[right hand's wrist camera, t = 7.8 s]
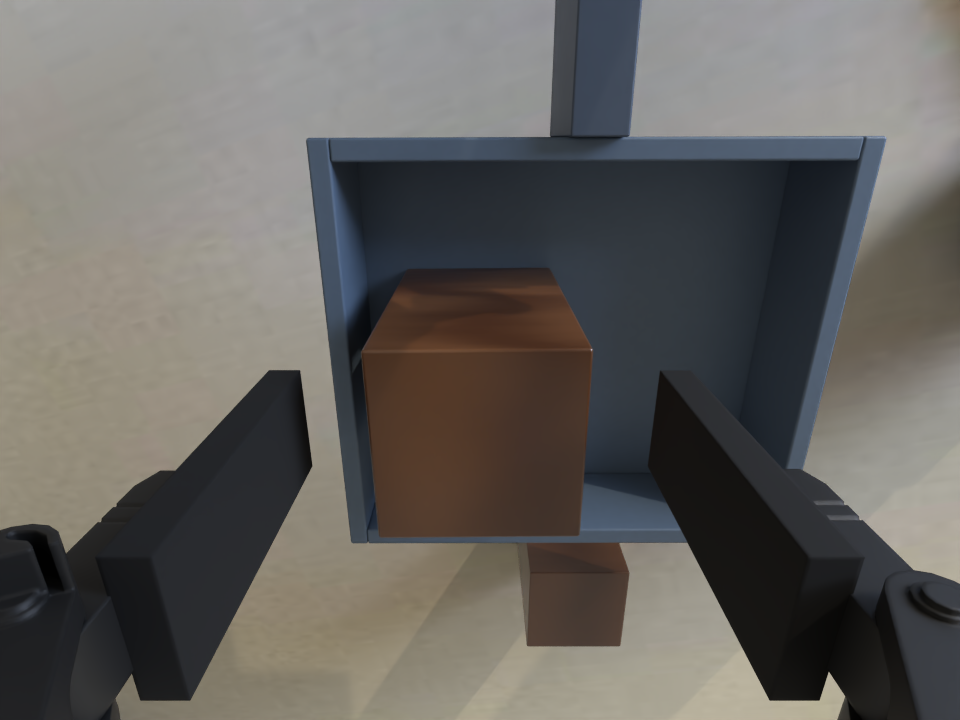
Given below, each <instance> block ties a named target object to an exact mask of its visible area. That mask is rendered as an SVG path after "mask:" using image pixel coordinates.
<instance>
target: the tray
mask: <svg viewBox="0 0 960 720" xmlns="http://www.w3.org/2000/svg"><path fill="white" fill-rule="evenodd" d="M641 6H642V0H556V5H555V29H554V53H553V78H552V102H551V126H550V136H551V137H456V138H308V139H307V140H306V144H307V153H308V161H309V170H310V179H311V188H312V197H313V206H314V215H315V224H316V233H317V242H318V250H319V259H320V268H321V277H322V286H323V295H324V304H325V313H326V322H327V331H328V339H329V348H330V357H331V366H332V375H333V384H334V393H335V402H336V411H337V420H338V428H339V437H340V446H341V455H342V464H343V473H344V482H345V491H346V500H347V509H348V517H349V526H350V535H351V542H352V543H367V542H369V543H687V541H686V539H685V537H684V535H683V533H682V531H681V529H680V527H679V525H678V523H677V522H676V520H675V518H674V516H673V514H672V512H671V510H670V508H669V506H668V504H667V502H666V500H665V498H664V497H663V495H662V493H661V491H660V489H659V487H658V485H657V483H656V481H655V479H654V477H653V475H652V474H651V472H650V470H649V468H648V459H649V451H650V444H651V436H652V428H653V420H654V413H655V405H656V397H657V389H658V382H659V374H660V370H691V371H692V372H693V373H694V374H695V375H696V376H697V377H698V379H699V380H700V381H701V382H702V383H703V384H704V385H705V386H706V387H707V388H708V389H709V390H710V391H711V392H712V394H713V395H714V396H715V397H716V398H717V399H718V400H719V401H720V402H721V403H722V404H723V405H724V406H725V408H726V409H727V410H728V411H729V412H730V413H731V414H732V415H733V416H734V417H735V418H736V419H737V420H738V421H739V423H740V424H741V425H742V426H743V427H744V428H745V429H746V430H747V431H748V432H749V433H750V434H751V435H752V436H753V438H754V439H755V440H756V441H757V442H758V443H759V444H760V445H761V446H762V447H763V448H764V449H765V450H766V451H767V453H768V454H769V455H770V456H771V457H772V458H773V459H774V460H775V461H776V462H777V463H778V464H779V465H780V466H781V468H782V469H801V470H803V466H804V463H805V459H806V455H807V451H808V447H809V443H810V439H811V435H812V431H813V427H814V423H815V419H816V415H817V411H818V407H819V403H820V399H821V395H822V391H823V387H824V384H825V380H826V376H827V372H828V368H829V364H830V360H831V356H832V352H833V348H834V344H835V340H836V336H837V332H838V328H839V324H840V320H841V316H842V312H843V309H844V305H845V301H846V297H847V293H848V289H849V285H850V281H851V277H852V273H853V269H854V265H855V261H856V257H857V253H858V249H859V245H860V241H861V237H862V234H863V230H864V226H865V222H866V218H867V214H868V210H869V206H870V202H871V198H872V194H873V190H874V186H875V182H876V178H877V174H878V170H879V166H880V162H881V159H882V155H883V151H884V147H885V143H886V137H884V136H769V137H628V136H629V135H630V126H631V115H632V104H633V93H634V82H635V71H636V61H637V50H638V39H639V28H640V17H641ZM449 268H550V270H551V272H552V273H553V275H554V277H555V279H556V281H557V283H558V285H559V287H560V289H561V290H562V292H563V294H564V296H565V298H566V300H567V302H568V304H569V305H570V307H571V309H572V311H573V313H574V315H575V317H576V319H577V321H578V322H579V324H580V326H581V328H582V330H583V332H584V334H585V336H586V337H587V339H588V341H589V343H590V345H591V347H592V349H593V360H592V374H591V388H590V402H589V416H588V429H587V443H586V457H585V471H584V485H583V499H582V513H581V526H580V535H579V536H567V537H425V538H381V537H379V534H378V523H377V513H376V503H375V492H374V482H373V472H372V461H371V451H370V441H369V430H368V420H367V410H366V399H365V389H364V379H363V368H362V358H361V351H362V349H363V347H364V346H365V344H366V342H367V340H368V338H369V337H370V335H371V333H372V331H373V329H374V328H375V326H376V324H377V322H378V320H379V319H380V317H381V315H382V313H383V312H384V310H385V308H386V306H387V304H388V303H389V301H390V299H391V297H392V295H393V294H394V292H395V290H396V288H397V286H398V285H399V283H400V281H401V279H402V278H403V276H404V274H405V272H406V270H407V269H449Z"/></svg>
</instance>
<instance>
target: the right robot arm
mask: <svg viewBox="0 0 960 720" xmlns="http://www.w3.org/2000/svg"><path fill="white" fill-rule="evenodd" d="M311 468H312V459H311V452H310V444H309V436H308V428H307V420H306V413H305V405H304V397H303V389H302V382H301V374H300V370H269V371H268V372H267V373H266V374H265V375H264V376H263V377H262V379H261V380H260V381H259V382H258V383H257V384H256V385H255V386H254V387H253V388H252V389H251V390H250V391H249V392H248V394H247V395H246V396H245V397H244V398H243V399H242V400H241V401H240V402H239V403H238V404H237V405H236V406H235V407H234V409H233V410H232V411H231V412H230V413H229V414H228V415H227V416H226V417H225V418H224V419H223V420H222V421H221V422H220V424H219V425H218V426H217V427H216V428H215V429H214V430H213V431H212V432H211V433H210V434H209V435H208V436H207V438H206V439H205V440H204V441H203V442H202V443H201V444H200V445H199V446H198V447H197V448H196V449H195V450H194V451H193V453H192V454H191V455H190V456H189V457H188V458H187V459H186V460H185V461H184V462H183V463H182V464H181V465H180V466H179V468H178V469H177V470H176V471H159V472H157V473H156V474H154V475H152V476H151V477H149V478H147V479H145V480H144V481H142V482H140V483H139V484H137V485H135V486H134V487H133V488H132V489H131V490H130V491H129V492H128V493H127V494H126V495H125V496H124V497H123V498H122V499H121V500H120V501H119V502H118V503H117V506H116V507H113V508H112V509H111V510H110V511H109V512H108V513H107V514H106V515H105V516H104V517H103V518H102V521H101V522H98V523H97V524H96V525H95V526H94V527H93V528H92V529H91V530H90V531H89V532H88V533H86V534H85V535H84V536H83V537H82V538H81V539H80V540H79V541H78V542H77V543H76V544H75V545H74V546H73V547H72V548H71V549H70V550H69V551H68V552H67V553H65V550H64V547H63V544H62V541H61V538H60V535H59V532H58V531H57V530H55V529H54V528H52V527H50V526H49V525H38V524H29V525H22V526H15V527H10V528H6V529H3V530H0V720H120V714H119V708H118V705H117V702H116V699H115V698H116V696H117V695H118V693H119V692H120V690H121V689H122V687H123V686H124V684H125V683H126V681H127V680H128V678H129V677H130V675H131V674H132V675H133V678H134V682H135V685H136V688H137V691H138V694H139V697H140V700H141V701H190V700H191V698H192V696H193V694H194V692H195V690H196V689H197V687H198V685H199V683H200V681H201V679H202V677H203V675H204V673H205V671H206V669H207V667H208V665H209V664H210V662H211V660H212V658H213V656H214V654H215V652H216V650H217V648H218V646H219V644H220V642H221V641H222V639H223V637H224V635H225V633H226V631H227V629H228V627H229V625H230V623H231V621H232V619H233V617H234V616H235V614H236V612H237V610H238V608H239V606H240V604H241V602H242V600H243V598H244V596H245V594H246V593H247V591H248V589H249V587H250V585H251V583H252V581H253V579H254V577H255V575H256V573H257V571H258V569H259V568H260V566H261V564H262V562H263V560H264V558H265V556H266V554H267V552H268V550H269V548H270V546H271V545H272V543H273V541H274V539H275V537H276V535H277V533H278V531H279V529H280V527H281V525H282V523H283V522H284V520H285V518H286V516H287V514H288V512H289V510H290V508H291V506H292V504H293V502H294V500H295V498H296V497H297V495H298V493H299V491H300V489H301V487H302V485H303V483H304V481H305V479H306V477H307V475H308V474H309V472H310V470H311ZM648 468H649V470H650V472H651V474H652V475H653V477H654V479H655V481H656V483H657V485H658V487H659V489H660V491H661V493H662V495H663V497H664V498H665V500H666V502H667V504H668V506H669V508H670V510H671V512H672V514H673V516H674V518H675V520H676V522H677V523H678V525H679V527H680V529H681V531H682V533H683V535H684V537H685V539H686V541H687V543H688V545H689V546H690V548H691V550H692V552H693V554H694V556H695V558H696V560H697V562H698V564H699V566H700V568H701V570H702V571H703V573H704V575H705V577H706V579H707V581H708V583H709V585H710V587H711V589H712V591H713V593H714V594H715V596H716V598H717V600H718V602H719V604H720V606H721V608H722V610H723V612H724V614H725V616H726V618H727V619H728V621H729V623H730V625H731V627H732V629H733V631H734V633H735V635H736V637H737V639H738V641H739V642H740V644H741V646H742V648H743V650H744V652H745V654H746V656H747V658H748V660H749V662H750V664H751V665H752V667H753V669H754V671H755V673H756V675H757V677H758V679H759V681H760V683H761V685H762V687H763V689H764V690H765V692H766V694H767V696H768V698H769V700H770V701H819V700H820V697H821V694H822V691H823V688H824V685H825V682H826V678H827V675H828V672H830V674H831V675H832V677H833V678H834V680H835V681H836V683H837V684H838V686H839V687H840V689H841V690H842V692H843V693H844V695H845V699H844V702H843V705H842V708H841V711H840V714H839V717H838V720H960V584H959V583H957V582H955V581H952V580H950V579H947V578H944V577H941V576H938V575H935V574H932V573H927V572H921V571H915V570H913V569H912V568H911V567H910V566H909V565H908V564H907V563H906V562H905V561H904V560H903V559H902V558H901V557H900V556H899V555H898V554H897V553H896V552H895V551H894V550H893V549H892V548H890V547H889V546H888V545H887V544H886V543H885V542H884V541H883V540H882V539H881V538H880V537H879V536H878V535H877V534H876V533H875V532H874V531H873V530H872V529H871V528H870V527H869V526H868V525H867V524H866V523H865V522H864V521H863V520H859V516H858V515H857V514H856V513H855V512H854V511H853V510H852V509H851V508H850V507H849V506H848V505H844V501H843V500H842V499H841V498H840V497H839V496H838V495H837V494H836V493H834V492H833V491H832V490H831V489H830V488H829V487H828V486H827V485H826V484H825V483H823V482H822V481H820V480H818V479H816V478H815V477H813V476H811V475H810V474H808V473H806V472H804V471H803V470H801V469H782V468H781V466H780V465H779V464H778V463H777V462H776V461H775V460H774V459H773V458H772V457H771V456H770V455H769V454H768V453H767V451H766V450H765V449H764V448H763V447H762V446H761V445H760V444H759V443H758V442H757V441H756V440H755V439H754V438H753V436H752V435H751V434H750V433H749V432H748V431H747V430H746V429H745V428H744V427H743V426H742V425H741V424H740V423H739V421H738V420H737V419H736V418H735V417H734V416H733V415H732V414H731V413H730V412H729V411H728V410H727V409H726V408H725V406H724V405H723V404H722V403H721V402H720V401H719V400H718V399H717V398H716V397H715V396H714V395H713V394H712V392H711V391H710V390H709V389H708V388H707V387H706V386H705V385H704V384H703V383H702V382H701V381H700V380H699V379H698V377H697V376H696V375H695V374H694V373H693V372H692V371H691V370H660V374H659V382H658V389H657V397H656V405H655V413H654V420H653V428H652V436H651V444H650V451H649V459H648Z"/></svg>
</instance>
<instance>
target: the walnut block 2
mask: <svg viewBox="0 0 960 720" xmlns="http://www.w3.org/2000/svg"><path fill="white" fill-rule="evenodd" d="M518 556H519V566H520V577H521V588H522V598H523V609H524V620H525V631H526V641H527V646H620V644H621V636H622V628H623V620H624V612H625V604H626V596H627V588H628V580H629V570H628V568H627V565H626V562H625V559H624V556H623V553H622V550H621V547H620V545H619V543H518Z"/></svg>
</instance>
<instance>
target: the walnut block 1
mask: <svg viewBox="0 0 960 720" xmlns="http://www.w3.org/2000/svg"><path fill="white" fill-rule="evenodd" d="M361 358H362V368H363V379H364V389H365V399H366V410H367V420H368V430H369V441H370V451H371V461H372V472H373V482H374V492H375V503H376V513H377V523H378V534H379V537H381V538H425V537H567V536H579V535H580V526H581V513H582V499H583V485H584V471H585V457H586V443H587V429H588V416H589V402H590V388H591V374H592V360H593V349H592V347H591V345H590V343H589V341H588V339H587V337H586V336H585V334H584V332H583V330H582V328H581V326H580V324H579V322H578V321H577V319H576V317H575V315H574V313H573V311H572V309H571V307H570V305H569V304H568V302H567V300H566V298H565V296H564V294H563V292H562V290H561V289H560V287H559V285H558V283H557V281H556V279H555V277H554V275H553V273H552V272H551V270H550V268H449V269H407V270H406V272H405V274H404V276H403V278H402V279H401V281H400V283H399V285H398V286H397V288H396V290H395V292H394V294H393V295H392V297H391V299H390V301H389V303H388V304H387V306H386V308H385V310H384V312H383V313H382V315H381V317H380V319H379V320H378V322H377V324H376V326H375V328H374V329H373V331H372V333H371V335H370V337H369V338H368V340H367V342H366V344H365V346H364V347H363V349H362V351H361Z"/></svg>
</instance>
